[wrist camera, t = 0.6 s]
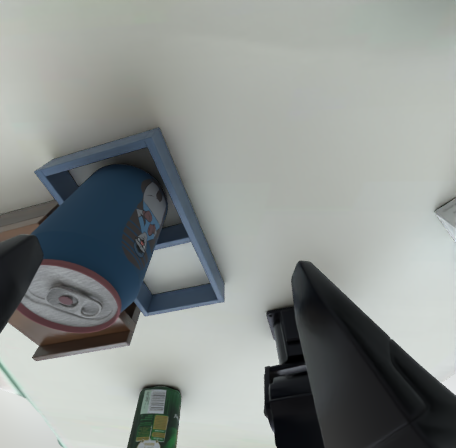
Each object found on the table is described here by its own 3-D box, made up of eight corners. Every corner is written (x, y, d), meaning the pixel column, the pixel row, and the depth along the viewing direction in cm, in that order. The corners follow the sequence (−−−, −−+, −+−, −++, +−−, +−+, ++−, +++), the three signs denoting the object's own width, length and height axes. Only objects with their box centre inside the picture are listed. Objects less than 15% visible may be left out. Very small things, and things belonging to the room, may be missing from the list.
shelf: (143, 303, 32) (129, 345, 28) (61, 318, 34) (36, 361, 29) (64, 196, 23) (25, 233, 19) (-41, 225, 25) (-100, 265, 20)
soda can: (81, 199, 23) (-24, 309, 14) (113, 141, 20) (8, 229, 11) (147, 236, 26) (100, 351, 16) (185, 189, 23) (154, 296, 13)
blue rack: (224, 284, 30) (224, 302, 28) (150, 298, 32) (144, 316, 30) (159, 127, 20) (151, 136, 18) (52, 159, 21) (33, 171, 19)
